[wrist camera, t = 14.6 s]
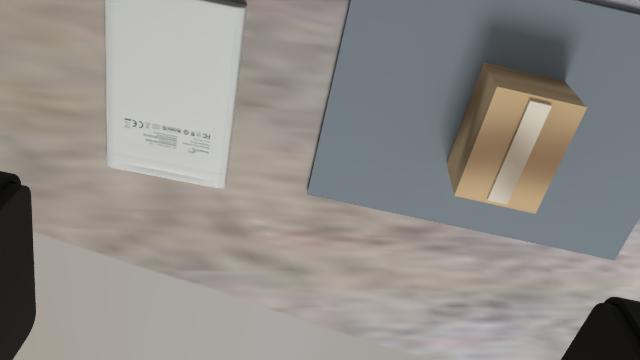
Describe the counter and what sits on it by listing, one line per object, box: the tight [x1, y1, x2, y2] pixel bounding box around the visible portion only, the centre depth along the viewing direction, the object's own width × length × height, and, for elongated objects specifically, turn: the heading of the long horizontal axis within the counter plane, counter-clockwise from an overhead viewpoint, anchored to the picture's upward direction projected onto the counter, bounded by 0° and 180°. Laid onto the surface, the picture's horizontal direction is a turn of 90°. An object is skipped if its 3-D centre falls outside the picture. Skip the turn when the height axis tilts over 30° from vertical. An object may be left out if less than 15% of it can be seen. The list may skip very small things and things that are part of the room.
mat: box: [307, 0, 640, 260], centre depth 36 cm, size 22×16×1 cm
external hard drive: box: [105, 0, 247, 188], centre depth 36 cm, size 2×8×12 cm
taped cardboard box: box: [447, 63, 587, 214], centre depth 34 cm, size 7×5×4 cm
